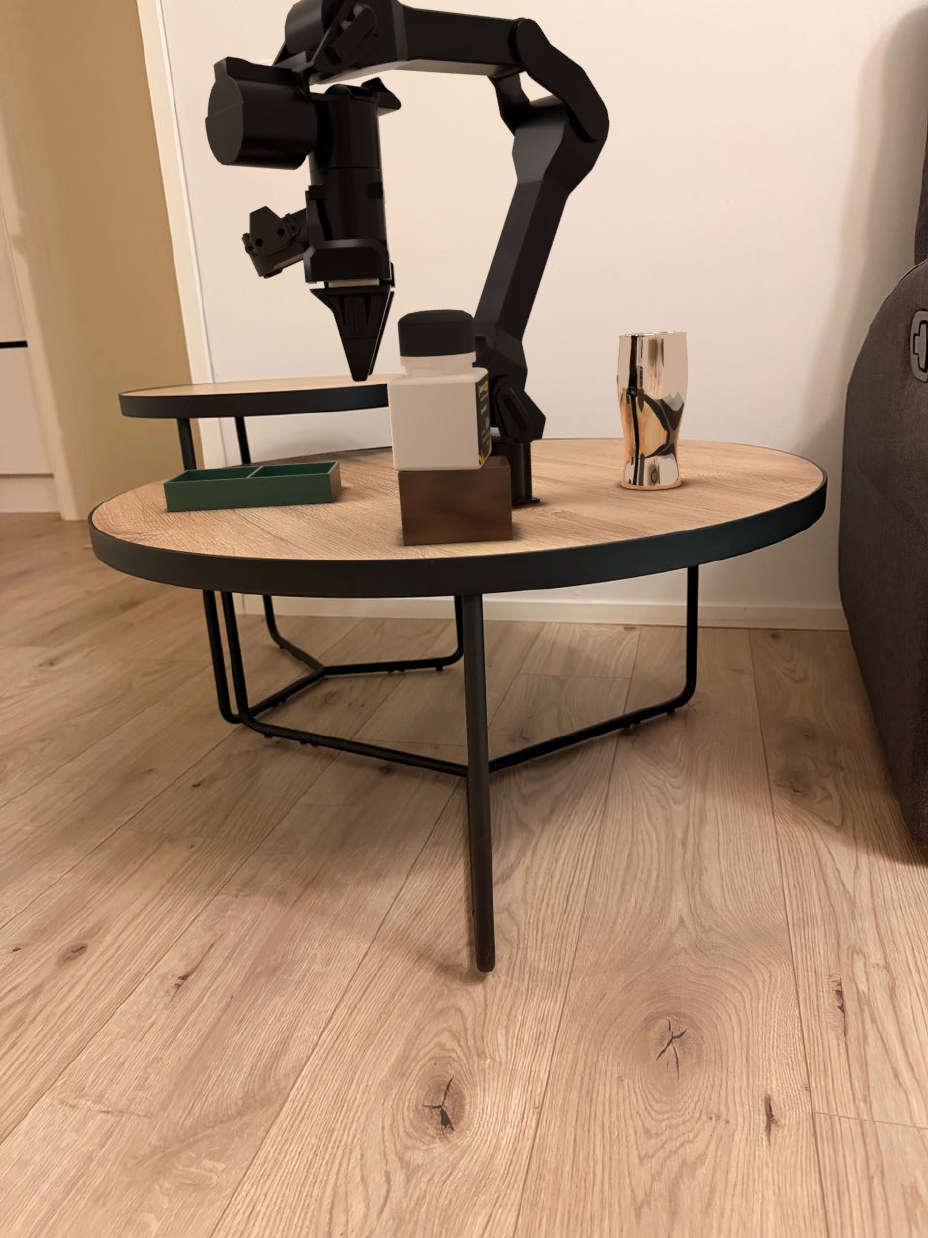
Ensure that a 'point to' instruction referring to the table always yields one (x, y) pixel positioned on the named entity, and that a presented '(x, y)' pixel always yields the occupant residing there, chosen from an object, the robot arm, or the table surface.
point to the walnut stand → (457, 504)
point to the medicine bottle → (439, 395)
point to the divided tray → (253, 486)
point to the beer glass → (652, 406)
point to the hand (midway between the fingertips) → (363, 378)
